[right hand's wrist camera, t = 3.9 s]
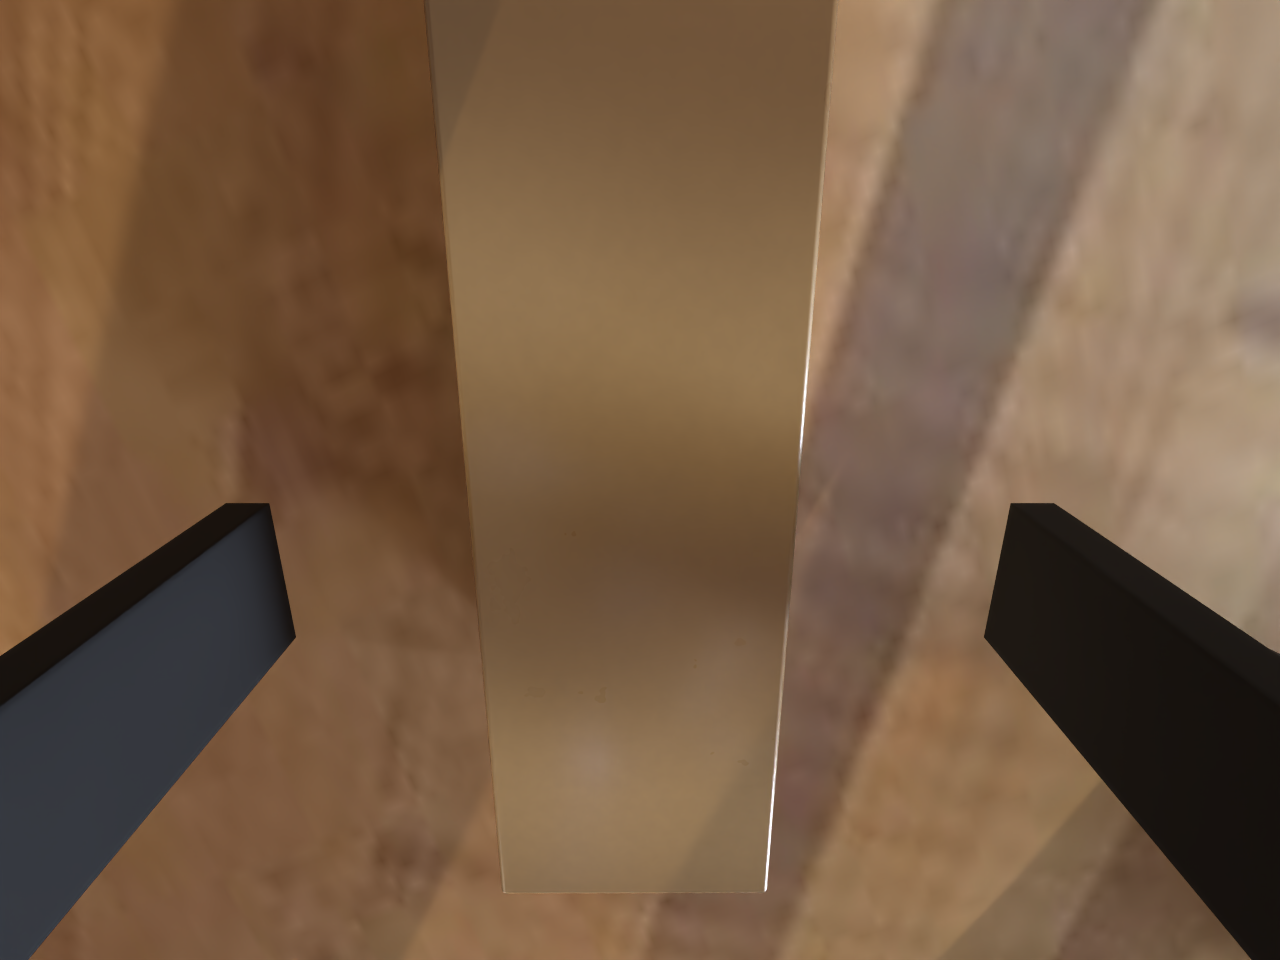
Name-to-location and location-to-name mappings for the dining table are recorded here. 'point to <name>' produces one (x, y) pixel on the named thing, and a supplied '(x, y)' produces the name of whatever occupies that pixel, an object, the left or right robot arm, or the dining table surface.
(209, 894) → the dining table surface
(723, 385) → the board
